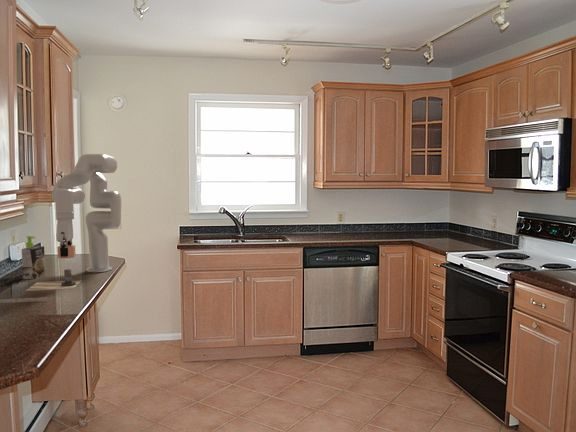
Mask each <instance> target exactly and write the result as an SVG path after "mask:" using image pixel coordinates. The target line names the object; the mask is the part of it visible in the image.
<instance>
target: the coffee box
mask: <svg viewBox="0 0 576 432" xmlns="http://www.w3.org/2000/svg"><path fill="white" fill-rule="evenodd" d="M45 253H46V252H45V246H44V245H43V246H39V245H38V246H37V245H36V246H35V245H34V246H33V247H28V248H26V247H25V248H22V249H21V268H22V279H23V280H24V279H25V280H36V279H38V278H39V279H40V278H42V277H46V276H47V275H46V274H47V273H46V258H45Z"/></svg>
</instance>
